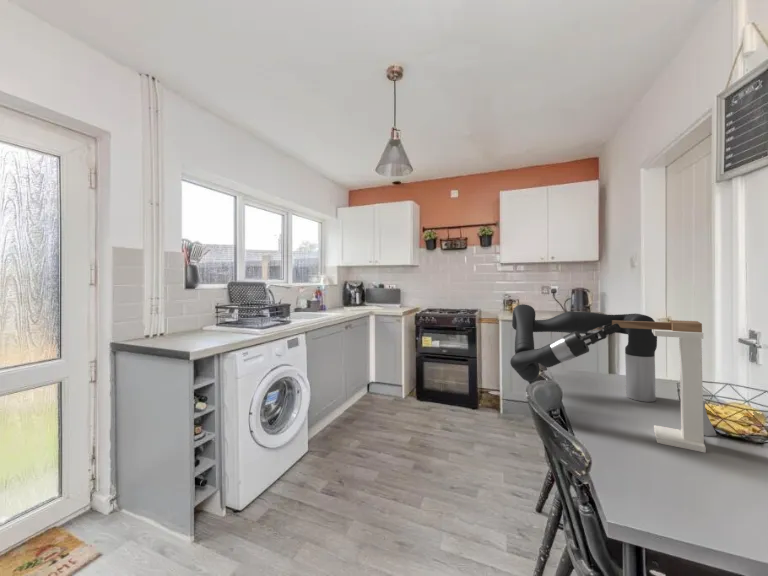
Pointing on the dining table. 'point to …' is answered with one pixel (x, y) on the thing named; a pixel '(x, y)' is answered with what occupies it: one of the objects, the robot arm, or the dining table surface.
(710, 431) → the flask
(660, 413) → the dining table surface
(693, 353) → the white pedestal stand
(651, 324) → the tan angular block
